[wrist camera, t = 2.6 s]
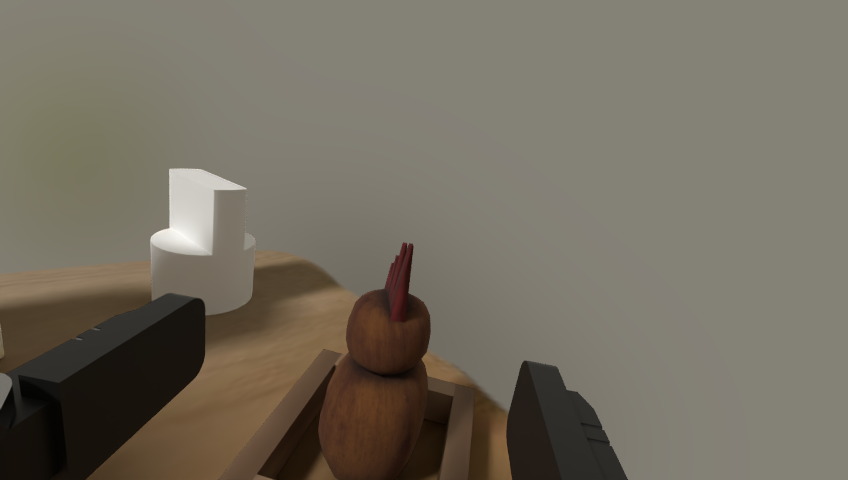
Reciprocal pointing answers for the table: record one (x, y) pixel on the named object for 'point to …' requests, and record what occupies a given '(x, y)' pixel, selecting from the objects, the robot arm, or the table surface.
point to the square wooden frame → (292, 417)
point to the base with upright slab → (204, 243)
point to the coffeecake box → (1, 345)
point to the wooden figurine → (378, 382)
